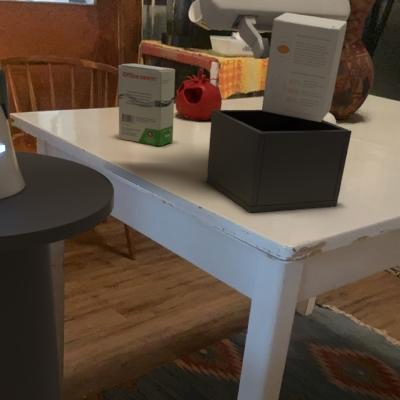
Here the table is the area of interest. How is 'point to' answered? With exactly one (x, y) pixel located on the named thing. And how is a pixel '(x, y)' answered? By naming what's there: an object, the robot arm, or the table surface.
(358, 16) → the brown curved lobed piece
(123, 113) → the ink box
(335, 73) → the small box
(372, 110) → the table surface
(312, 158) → the trash bin
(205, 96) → the pomegranate
